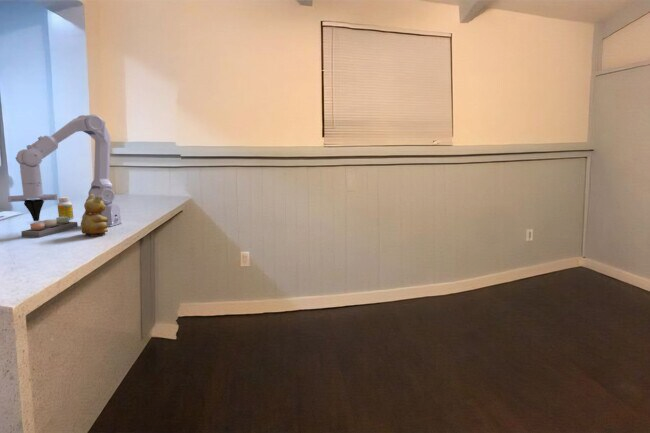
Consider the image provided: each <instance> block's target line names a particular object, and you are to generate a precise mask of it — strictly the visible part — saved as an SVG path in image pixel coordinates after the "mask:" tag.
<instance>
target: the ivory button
mask: <svg viewBox="0 0 650 433" xmlns="http://www.w3.org/2000/svg"><path fill="white" fill-rule="evenodd" d="M43 223H44V226H45V227H51V226H57V219H56V218H54V219H52V218H51V219H46V220H45V219H44V220H43Z"/></svg>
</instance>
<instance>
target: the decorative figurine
mask: <svg viewBox="0 0 650 433" xmlns="http://www.w3.org/2000/svg"><path fill="white" fill-rule="evenodd" d="M101 198H102V196H101V195H99V196H97V197H96V198H95V196H94V194H91V195H88V196H87V198H86V200H85V203H84V206H83V207H84V213H83V215H81V216H82V217H81V221H80V230H81V234H84V235H85V236H87V237H88V236H89V237H98V236H99V237H100V236H104V235H106V233H107V232H108V231H109V230H108V226H107V221H108V219H107V217H104V216H103V215H102V213H101V212H103V211H104V210H105V205H104V202H103V201H101Z"/></svg>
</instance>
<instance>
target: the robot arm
mask: <svg viewBox="0 0 650 433" xmlns="http://www.w3.org/2000/svg"><path fill="white" fill-rule="evenodd" d="M77 132H83V133H85V134H87V135H89V136H90V137H91V138H92V139H93V140H94V166H93V168H94V171H93V172H94V174H93V175H94V176H93V181H91V183H90V188H89V191H88V194H87V195H88V196H89V195H91V194H94V196H95V198H96V197H97V196H99V195H101V196H102V198H101V201H103V202H104V205H105V210H104V211H103V212H101V213H102V215H103V216H104V217H107V219H108V221H107V228H109V227H114V226H116V225H120V224H123V221H122V218H121V217H122V216H121V208H120V206H119V205H118V204H116V203H113V201H114V200H115V198H116V195H115V191H114V185H113V184H112V182H111V181H110V168H111V167H110V165H111V164H110V161H111V135H110V133H109V131H108V128H107V127H106V121H105V120H104V119H103V118H101V116H99V115H97V114H89V115H85V114H83V115H79V116H77V117H76V118H73V119H72V120H70V121H69V122H68V123H66V124H65V125H63V126H62V127H61V128H60V129H59V130H57V131H56V132H54V133H53V134H52V135H50V136H49V135H44V136H41V135H40V136H39V137H37V139H38V140H36V141H35V142H34V143H32V144H28V145H26V149H20V150H19V151H18V152H17V154H16V157H15V161H16V162H17V163H18V164H19V169H20V171H19V172H20V179H21V186H22V194H23V195H22V194H21V195H9V196H7V201H8V203H14V202H16V203H17V202H23V205H24V206H25V207H26V209H27V211H28V212H29V214H30V215H31V218H32V220H33V222H38V221H40V216H41V211H42V208H43V205H44V203H45V201H59V194H48V193H47V194H43V193H44V192H43V183H42V174H41V168H40V164H41V163H42V161H43V159H45V158H46V157H47V156H49V155H50V154H52V153H53V152H55V151H56V150H57V149H58V148H59V143H61V142H62V141H64V140H66V139H68V138H69V137H71V136H72V135H74V134H75V133H77Z"/></svg>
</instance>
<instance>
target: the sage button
mask: <svg viewBox="0 0 650 433" xmlns="http://www.w3.org/2000/svg"><path fill="white" fill-rule="evenodd" d="M55 220H57V223H58V224H62V223H68V222H70V220H69V218H68V217H59V216H58V217H56V218H55Z"/></svg>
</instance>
